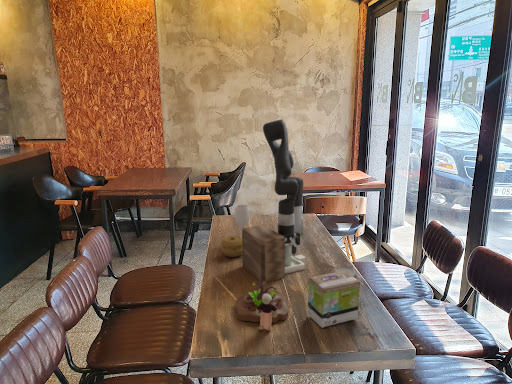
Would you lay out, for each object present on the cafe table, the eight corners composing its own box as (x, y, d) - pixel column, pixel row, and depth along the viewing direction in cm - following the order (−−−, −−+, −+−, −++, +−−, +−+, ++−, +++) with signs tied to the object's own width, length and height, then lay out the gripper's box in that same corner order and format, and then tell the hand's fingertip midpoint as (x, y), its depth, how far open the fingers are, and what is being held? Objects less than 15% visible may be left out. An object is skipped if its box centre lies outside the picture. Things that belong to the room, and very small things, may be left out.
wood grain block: (263, 261, 180) (263, 224, 176) (284, 277, 163) (285, 237, 159) (242, 266, 175) (242, 228, 171) (262, 282, 159) (262, 241, 154)
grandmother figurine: (255, 331, 125) (255, 296, 122) (255, 324, 128) (255, 291, 126) (278, 331, 125) (278, 296, 122) (277, 324, 128) (278, 291, 126)
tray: (295, 256, 185) (295, 251, 185) (312, 267, 173) (312, 261, 172) (267, 263, 178) (267, 257, 177) (282, 274, 166) (282, 268, 165)
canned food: (355, 295, 148) (356, 269, 145) (353, 305, 141) (354, 278, 138) (335, 292, 150) (336, 266, 148) (332, 301, 143) (333, 275, 140)
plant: (236, 295, 149) (235, 269, 146) (285, 295, 149) (285, 269, 146) (233, 324, 130) (232, 294, 127) (289, 324, 130) (290, 294, 127)
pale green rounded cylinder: (287, 260, 178) (287, 243, 176) (293, 265, 173) (294, 246, 171) (277, 263, 176) (277, 245, 174) (283, 267, 171) (284, 248, 169)
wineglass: (250, 246, 199) (249, 208, 194) (233, 246, 199) (233, 208, 195) (250, 240, 208) (250, 204, 203) (235, 240, 208) (234, 204, 203)
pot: (227, 249, 196) (226, 231, 193) (248, 252, 192) (247, 233, 189) (217, 257, 185) (216, 238, 182) (239, 261, 181) (239, 241, 179)
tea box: (322, 329, 126) (323, 289, 122) (306, 314, 135) (307, 276, 131) (358, 319, 132) (361, 280, 128) (341, 305, 141) (343, 268, 137)
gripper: (294, 218, 176) (294, 250, 180) (268, 222, 170) (268, 256, 174) (303, 222, 170) (303, 255, 174) (276, 227, 163) (276, 261, 167)
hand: (285, 255), depth 174 cm, fingers open, 8 cm apart
